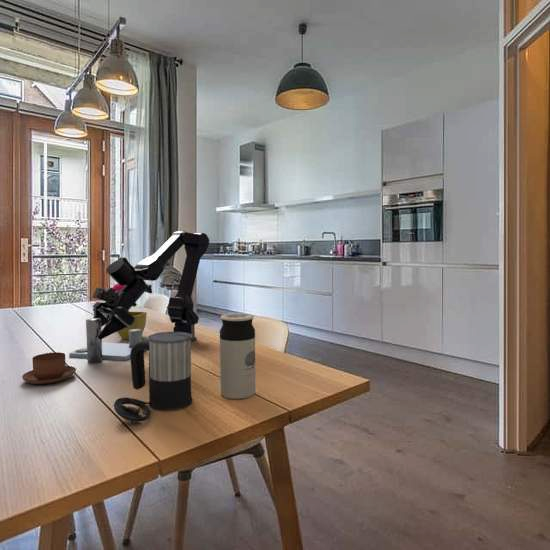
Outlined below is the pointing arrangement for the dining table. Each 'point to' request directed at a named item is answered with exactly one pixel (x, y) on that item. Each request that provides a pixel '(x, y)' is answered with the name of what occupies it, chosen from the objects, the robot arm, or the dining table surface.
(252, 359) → the travel mug
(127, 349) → the flange plate
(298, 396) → the dining table surface
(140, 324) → the flower pot
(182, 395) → the milk frother
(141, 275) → the robot arm
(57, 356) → the cup and saucer
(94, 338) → the grey metallic rounded cylinder
